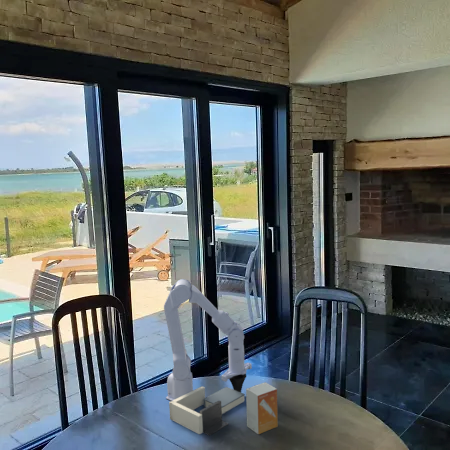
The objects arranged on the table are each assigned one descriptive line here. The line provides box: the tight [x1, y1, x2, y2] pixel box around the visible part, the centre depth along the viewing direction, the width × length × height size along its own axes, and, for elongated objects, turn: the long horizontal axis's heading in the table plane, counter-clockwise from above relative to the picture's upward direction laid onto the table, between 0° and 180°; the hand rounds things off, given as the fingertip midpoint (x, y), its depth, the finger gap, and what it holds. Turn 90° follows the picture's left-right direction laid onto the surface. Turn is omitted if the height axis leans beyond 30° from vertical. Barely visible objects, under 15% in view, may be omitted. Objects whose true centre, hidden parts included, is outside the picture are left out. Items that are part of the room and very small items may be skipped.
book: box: [203, 386, 246, 415], centre depth 166 cm, size 9×12×3 cm
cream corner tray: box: [168, 385, 206, 435], centre depth 157 cm, size 14×15×6 cm
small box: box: [245, 381, 279, 435], centre depth 150 cm, size 8×6×13 cm
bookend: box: [199, 401, 229, 436], centre depth 151 cm, size 4×9×7 cm, turn 137°
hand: (237, 393), depth 172 cm, fingers closed
